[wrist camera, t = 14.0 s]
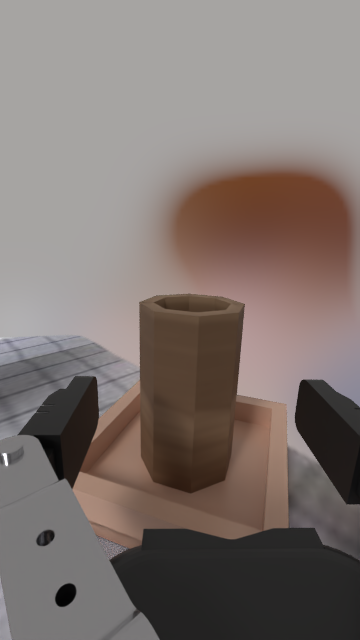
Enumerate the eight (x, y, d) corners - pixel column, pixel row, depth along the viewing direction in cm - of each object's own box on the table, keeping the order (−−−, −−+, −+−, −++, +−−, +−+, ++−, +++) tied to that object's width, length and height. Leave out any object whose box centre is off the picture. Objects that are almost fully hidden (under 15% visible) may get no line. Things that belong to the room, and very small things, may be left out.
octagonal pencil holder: (128, 474, 17) (124, 308, 14) (170, 412, 23) (172, 288, 21) (219, 502, 15) (233, 320, 13) (237, 428, 21) (250, 295, 19)
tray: (42, 513, 15) (37, 476, 15) (143, 401, 26) (143, 377, 26) (281, 609, 12) (289, 564, 11) (282, 431, 23) (286, 404, 22)
